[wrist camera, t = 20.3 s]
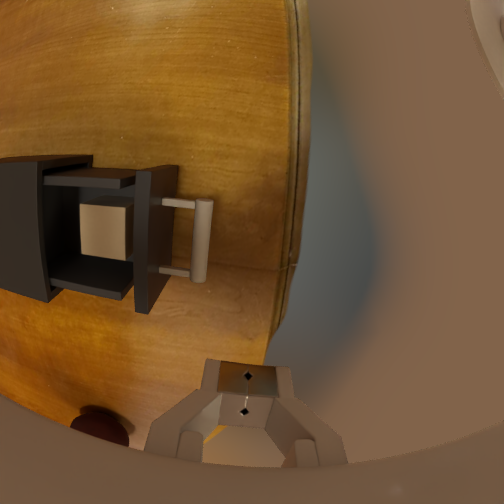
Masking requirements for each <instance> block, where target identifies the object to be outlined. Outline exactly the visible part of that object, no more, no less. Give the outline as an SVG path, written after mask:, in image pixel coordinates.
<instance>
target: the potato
mask: <svg viewBox="0 0 504 504" xmlns="http://www.w3.org/2000/svg"><path fill="white" fill-rule="evenodd" d="M70 428H72V429H75V430H77V431H80V432H83V433H85V434H88V435H91V436H94V437H97V438H100V439H103V440H106V441H109V442H112V443H116V444H119V445H122V446H126V447H129V437H128V434H127V432H126V430H125V428H124V427H123V426H122V425H121V424H120V423H119V422H118V421H117V420H115V419H114V418H112V417H110V416H109V415H107V414H103V413H98V412H93V413H86V414H83V415H81V416H78V417H76V418H75V419H74V420H73V421H72V423H71V426H70Z"/></svg>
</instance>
